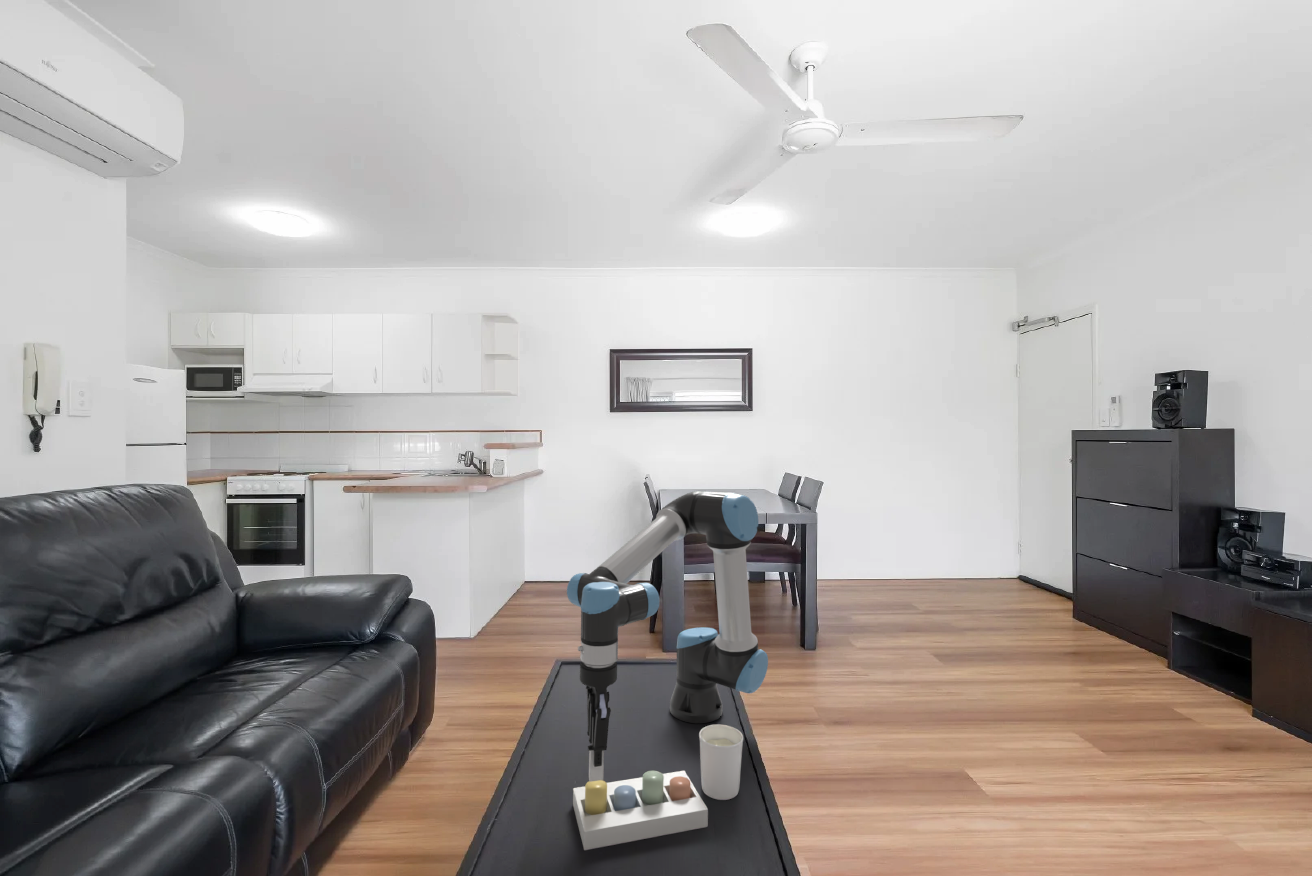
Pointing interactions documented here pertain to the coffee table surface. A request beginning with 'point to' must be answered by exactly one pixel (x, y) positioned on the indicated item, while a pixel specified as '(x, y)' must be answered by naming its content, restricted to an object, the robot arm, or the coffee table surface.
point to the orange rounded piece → (679, 788)
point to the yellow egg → (596, 797)
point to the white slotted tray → (638, 815)
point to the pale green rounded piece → (652, 787)
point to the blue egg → (624, 797)
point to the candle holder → (720, 761)
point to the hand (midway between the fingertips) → (595, 778)
